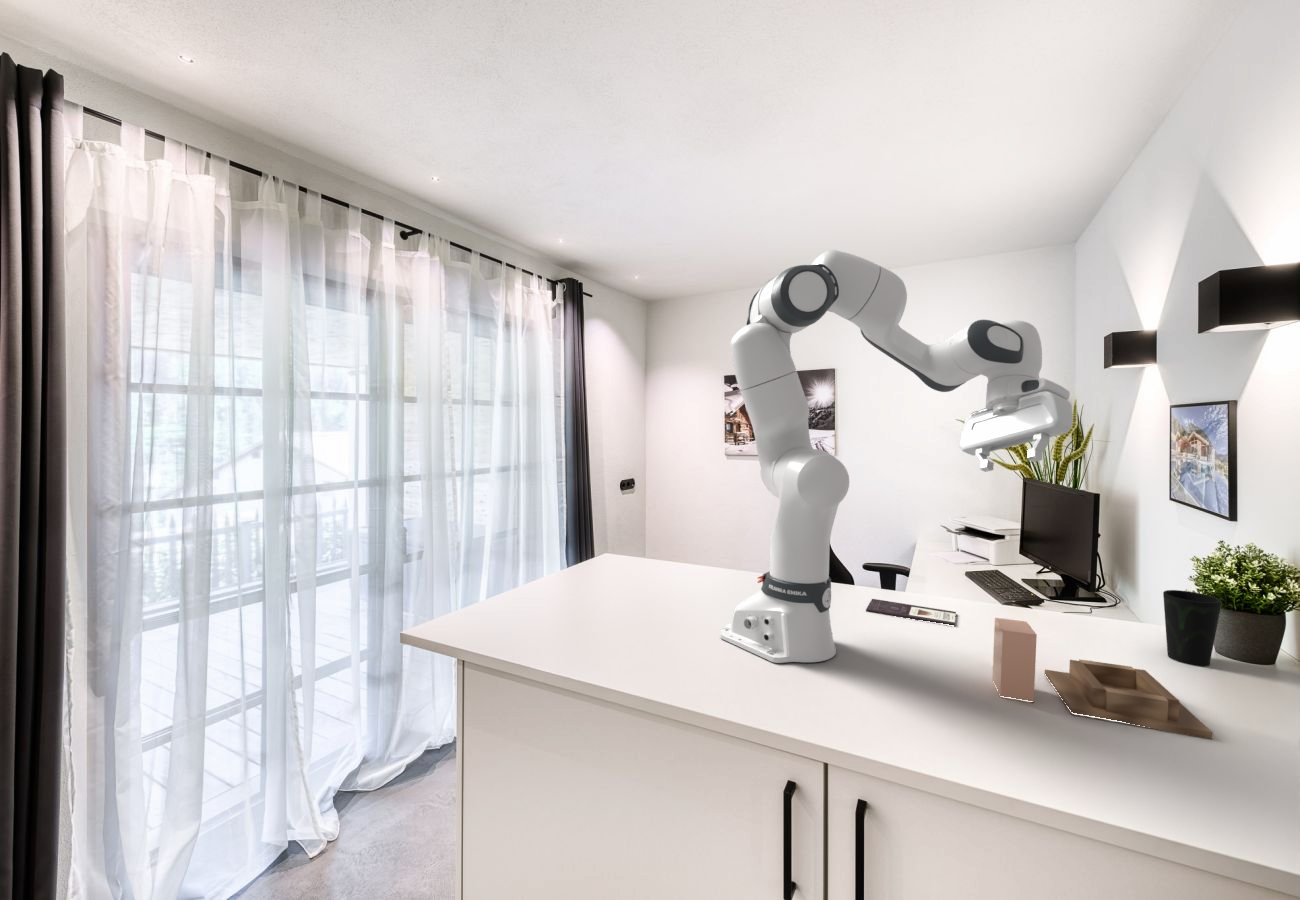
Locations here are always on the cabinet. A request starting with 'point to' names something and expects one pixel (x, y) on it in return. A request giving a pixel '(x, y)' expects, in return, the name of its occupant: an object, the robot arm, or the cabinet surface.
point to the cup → (1190, 626)
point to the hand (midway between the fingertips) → (1009, 465)
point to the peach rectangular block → (1014, 659)
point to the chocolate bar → (911, 611)
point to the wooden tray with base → (1124, 697)
